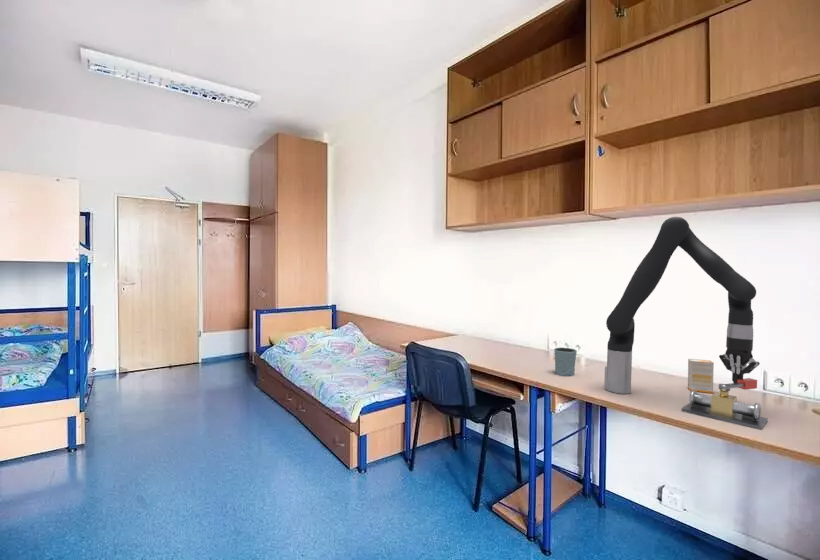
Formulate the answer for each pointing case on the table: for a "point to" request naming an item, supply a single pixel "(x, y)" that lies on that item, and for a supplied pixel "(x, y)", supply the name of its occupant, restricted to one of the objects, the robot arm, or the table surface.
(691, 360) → the supplement box
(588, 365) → the table surface
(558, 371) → the grey-green tapered cup
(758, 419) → the valve body
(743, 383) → the valve lever
